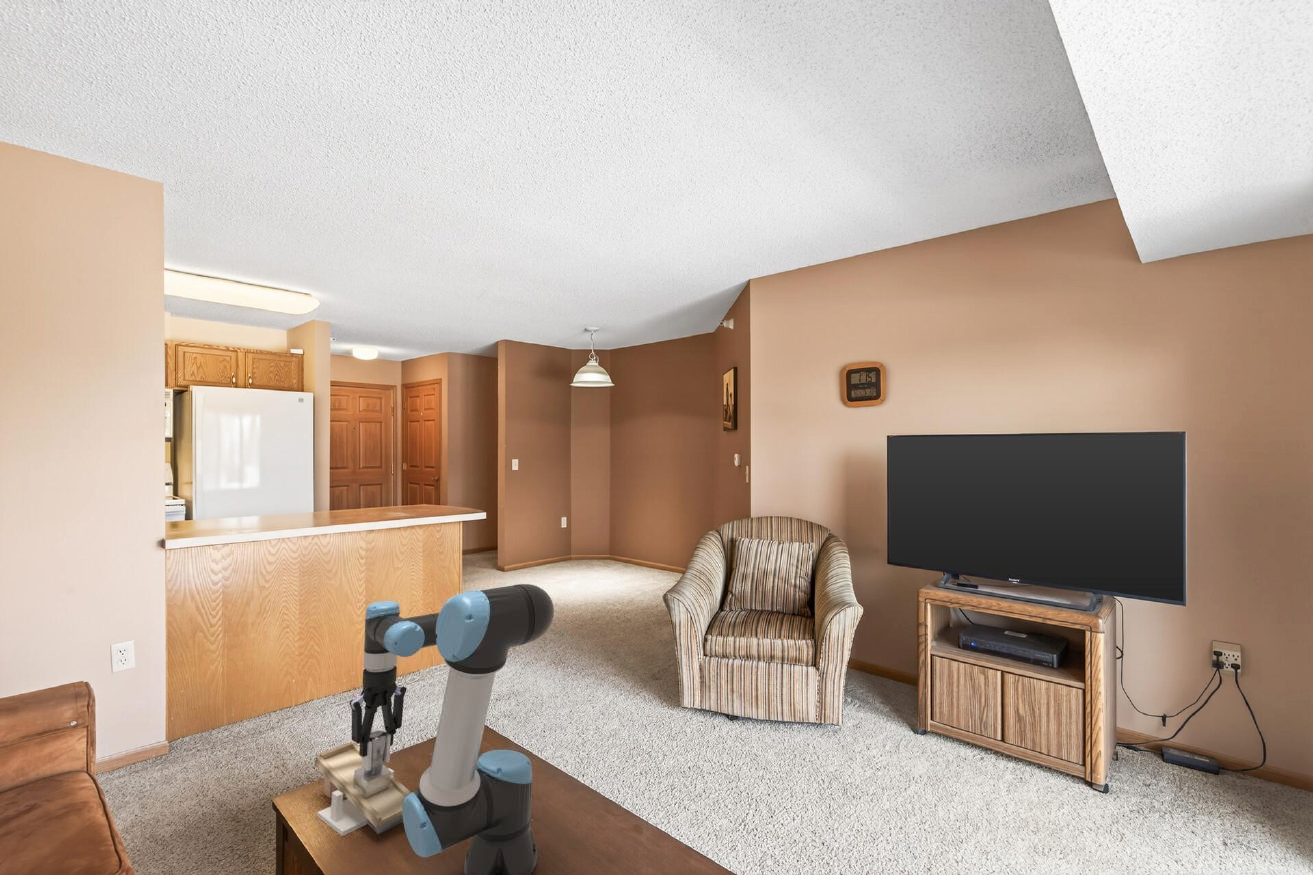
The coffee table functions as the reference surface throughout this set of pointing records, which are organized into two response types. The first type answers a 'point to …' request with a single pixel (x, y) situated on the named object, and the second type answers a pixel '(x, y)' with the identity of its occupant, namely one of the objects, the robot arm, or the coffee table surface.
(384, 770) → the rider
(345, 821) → the stand
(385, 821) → the beam
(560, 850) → the coffee table surface
